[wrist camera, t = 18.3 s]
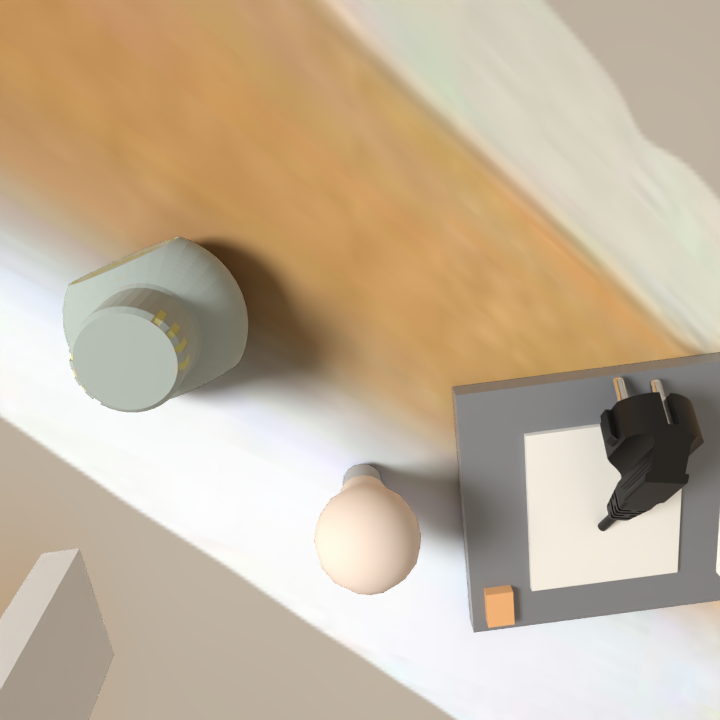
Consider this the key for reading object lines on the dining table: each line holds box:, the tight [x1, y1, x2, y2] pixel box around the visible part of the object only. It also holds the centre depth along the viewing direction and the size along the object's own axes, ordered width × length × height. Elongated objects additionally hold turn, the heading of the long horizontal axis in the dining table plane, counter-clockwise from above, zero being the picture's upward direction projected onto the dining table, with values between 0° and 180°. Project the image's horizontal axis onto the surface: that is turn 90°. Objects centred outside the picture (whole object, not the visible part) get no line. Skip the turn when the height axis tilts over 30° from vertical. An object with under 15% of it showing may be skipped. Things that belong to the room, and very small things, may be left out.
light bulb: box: [314, 464, 421, 595], centre depth 44 cm, size 7×7×11 cm
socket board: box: [452, 352, 720, 632], centre depth 49 cm, size 20×20×2 cm
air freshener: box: [63, 236, 248, 412], centre depth 40 cm, size 11×8×10 cm
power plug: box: [598, 377, 704, 531], centre depth 46 cm, size 6×8×12 cm
